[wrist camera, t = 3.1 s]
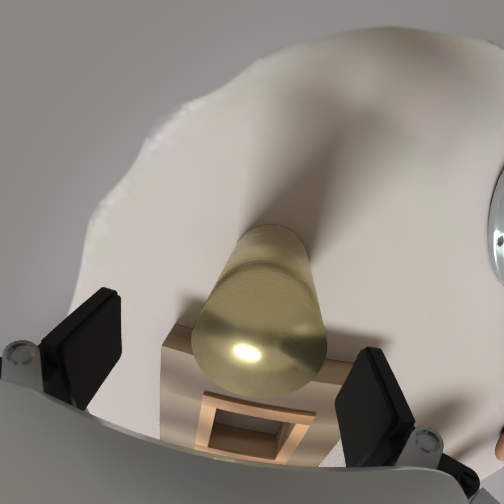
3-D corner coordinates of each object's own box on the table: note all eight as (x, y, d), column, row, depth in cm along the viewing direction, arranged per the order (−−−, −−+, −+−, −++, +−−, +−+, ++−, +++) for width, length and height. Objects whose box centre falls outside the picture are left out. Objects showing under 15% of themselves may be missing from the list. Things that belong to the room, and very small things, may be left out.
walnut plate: (174, 324, 22) (160, 347, 19) (366, 364, 22) (374, 391, 18) (168, 433, 27) (159, 454, 24) (304, 461, 27) (305, 483, 24)
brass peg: (241, 216, 19) (200, 274, 9) (316, 234, 19) (346, 308, 9) (227, 285, 21) (185, 381, 11) (296, 301, 20) (302, 406, 11)
